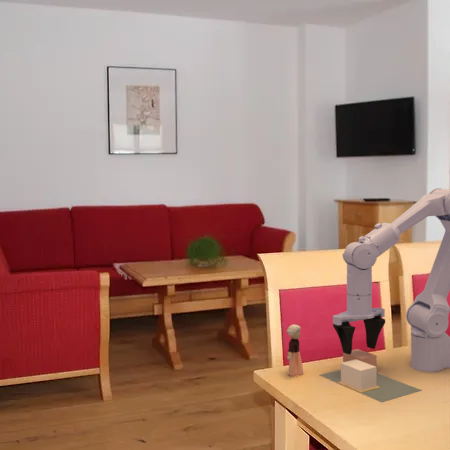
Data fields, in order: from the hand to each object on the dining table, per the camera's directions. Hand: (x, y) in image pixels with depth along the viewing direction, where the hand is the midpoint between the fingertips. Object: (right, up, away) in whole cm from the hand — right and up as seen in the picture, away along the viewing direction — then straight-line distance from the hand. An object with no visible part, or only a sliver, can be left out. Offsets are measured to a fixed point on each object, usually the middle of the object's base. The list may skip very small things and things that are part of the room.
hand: (359, 350), depth 139 cm
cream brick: (-2, -6, -8) cm, 10 cm away
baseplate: (+1, -7, -6) cm, 9 cm away
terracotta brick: (0, -5, 0) cm, 5 cm away
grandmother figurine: (-15, -7, +1) cm, 16 cm away
